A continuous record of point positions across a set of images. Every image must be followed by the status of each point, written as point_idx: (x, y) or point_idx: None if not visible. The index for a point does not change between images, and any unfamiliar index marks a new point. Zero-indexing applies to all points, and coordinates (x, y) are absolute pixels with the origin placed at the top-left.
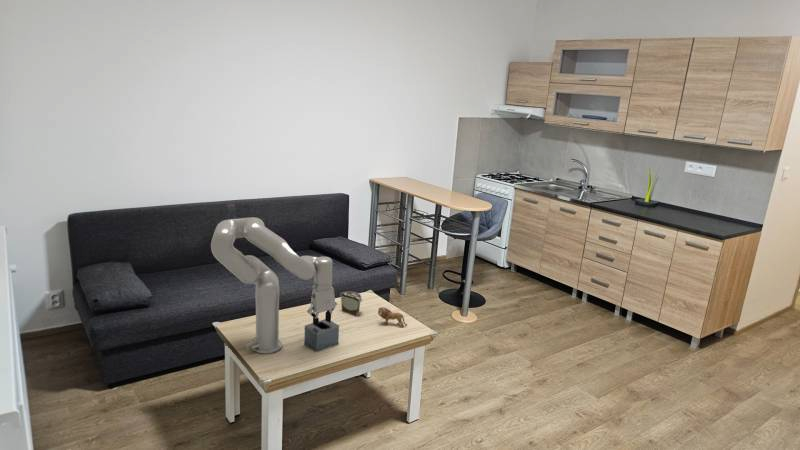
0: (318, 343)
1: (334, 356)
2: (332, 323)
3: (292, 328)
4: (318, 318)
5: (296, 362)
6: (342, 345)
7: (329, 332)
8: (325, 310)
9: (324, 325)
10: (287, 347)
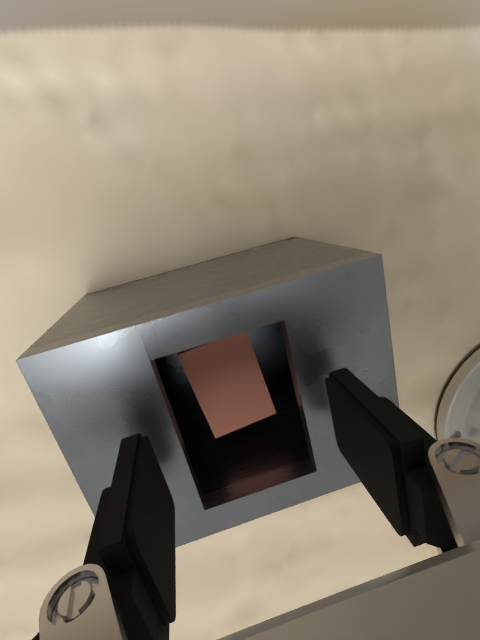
0: (299, 247)
1: (191, 99)
2: (92, 439)
3: (300, 567)
4: (399, 440)
5: (472, 149)
6: (57, 257)
7: (182, 297)
8: (353, 616)
9: None
10: (424, 366)
